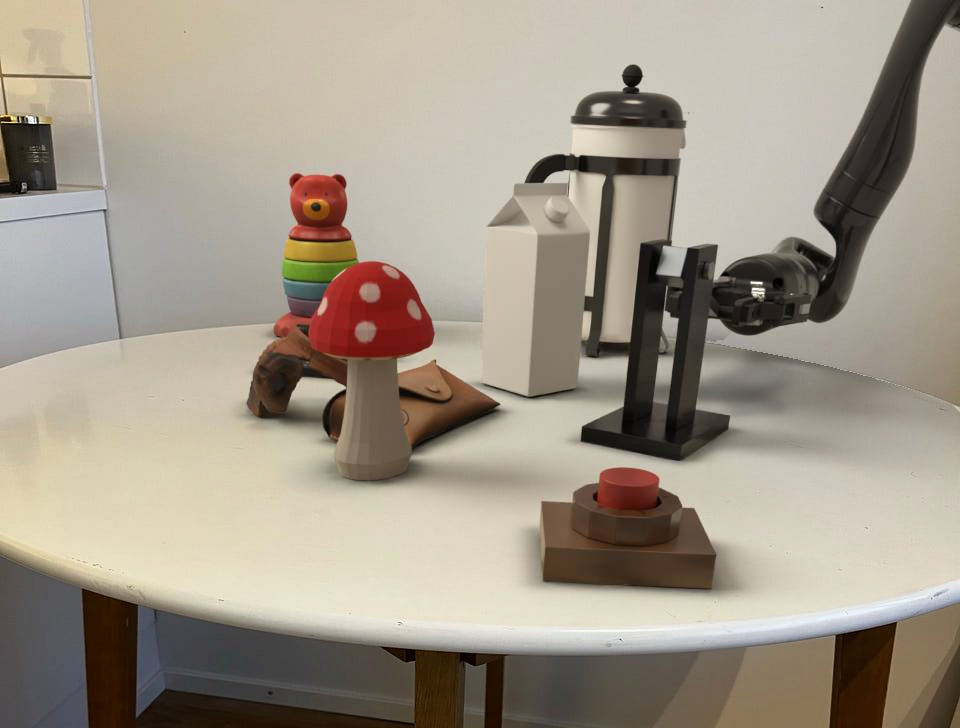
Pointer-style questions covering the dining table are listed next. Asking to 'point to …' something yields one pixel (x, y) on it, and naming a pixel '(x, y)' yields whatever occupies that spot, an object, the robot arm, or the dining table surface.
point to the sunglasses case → (422, 403)
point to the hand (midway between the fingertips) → (705, 310)
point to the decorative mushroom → (371, 362)
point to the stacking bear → (314, 246)
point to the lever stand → (640, 418)
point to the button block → (624, 543)
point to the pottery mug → (289, 371)
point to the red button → (628, 489)
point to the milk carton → (534, 292)
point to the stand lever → (673, 275)
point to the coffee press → (620, 194)
